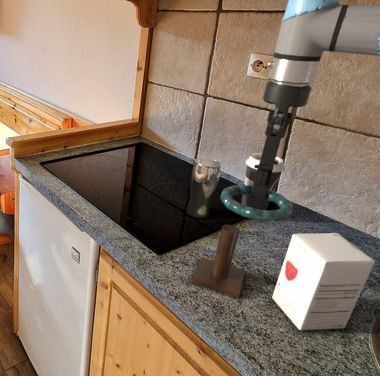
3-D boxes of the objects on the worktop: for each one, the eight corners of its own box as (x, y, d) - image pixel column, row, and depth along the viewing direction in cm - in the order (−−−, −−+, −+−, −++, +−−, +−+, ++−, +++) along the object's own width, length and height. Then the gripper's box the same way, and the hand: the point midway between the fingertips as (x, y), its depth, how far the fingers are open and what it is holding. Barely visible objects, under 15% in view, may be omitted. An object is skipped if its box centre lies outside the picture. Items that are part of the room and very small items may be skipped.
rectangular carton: (269, 297, 80) (290, 232, 74) (312, 296, 81) (337, 231, 74) (298, 331, 72) (325, 261, 65) (346, 329, 72) (377, 260, 66)
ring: (291, 202, 84) (294, 193, 83) (289, 230, 74) (292, 220, 73) (225, 186, 90) (227, 178, 89) (215, 210, 80) (217, 202, 79)
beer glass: (178, 209, 113) (188, 159, 106) (197, 204, 116) (207, 155, 109) (197, 221, 107) (208, 168, 101) (216, 215, 110) (228, 164, 104)
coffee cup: (244, 197, 121) (257, 149, 115) (278, 208, 115) (292, 159, 108) (229, 206, 115) (240, 156, 109) (262, 219, 109) (277, 167, 103)
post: (244, 274, 86) (258, 225, 81) (238, 298, 79) (253, 246, 74) (200, 261, 90) (211, 213, 85) (191, 283, 83) (202, 232, 78)
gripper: (270, 74, 83) (243, 178, 93) (263, 86, 72) (233, 204, 82) (312, 79, 80) (280, 186, 90) (312, 91, 68) (274, 214, 78)
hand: (257, 194), depth 86 cm, fingers closed on ring, 2 cm apart
